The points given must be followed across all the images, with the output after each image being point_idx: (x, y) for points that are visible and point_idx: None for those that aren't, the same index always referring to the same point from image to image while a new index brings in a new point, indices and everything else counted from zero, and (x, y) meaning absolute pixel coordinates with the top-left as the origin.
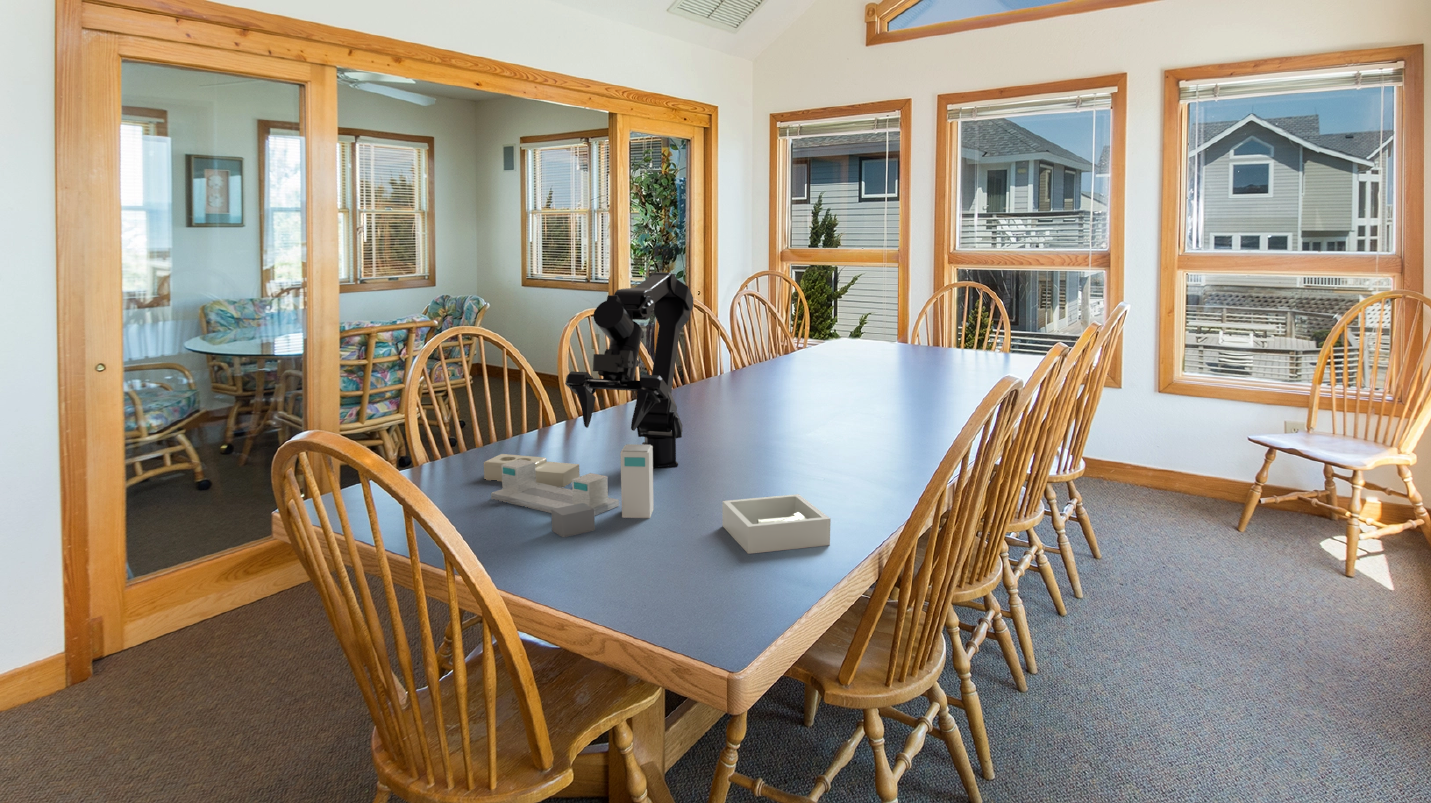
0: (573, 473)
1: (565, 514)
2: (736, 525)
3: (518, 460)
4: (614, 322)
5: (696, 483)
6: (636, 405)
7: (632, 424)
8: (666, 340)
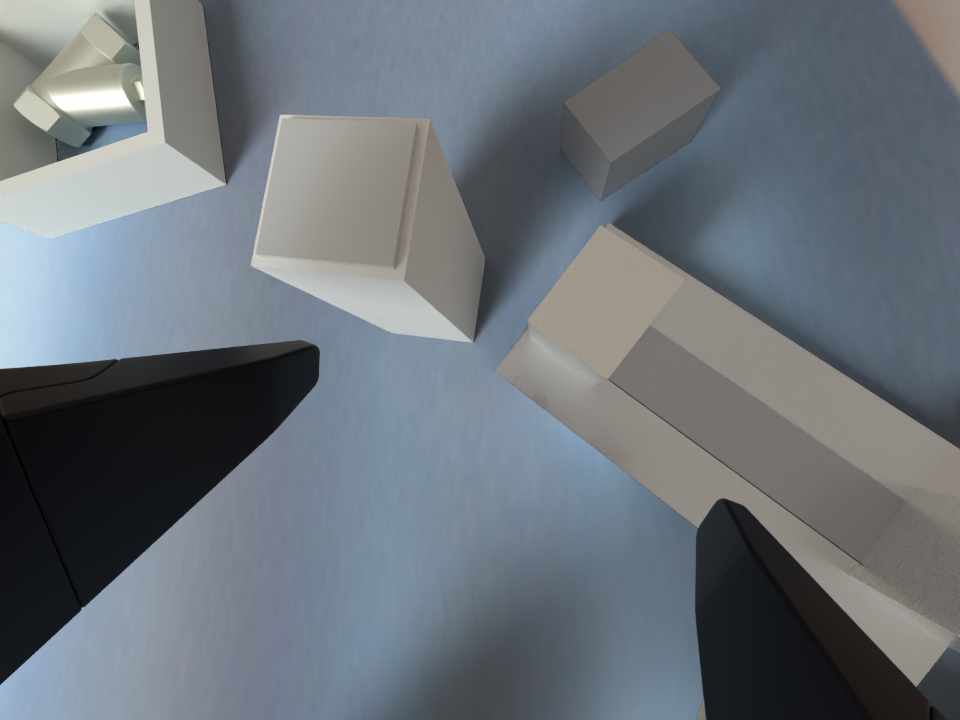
0: None
1: (659, 37)
2: (178, 48)
3: None
4: None
5: (241, 608)
6: (71, 391)
7: (286, 347)
8: None
